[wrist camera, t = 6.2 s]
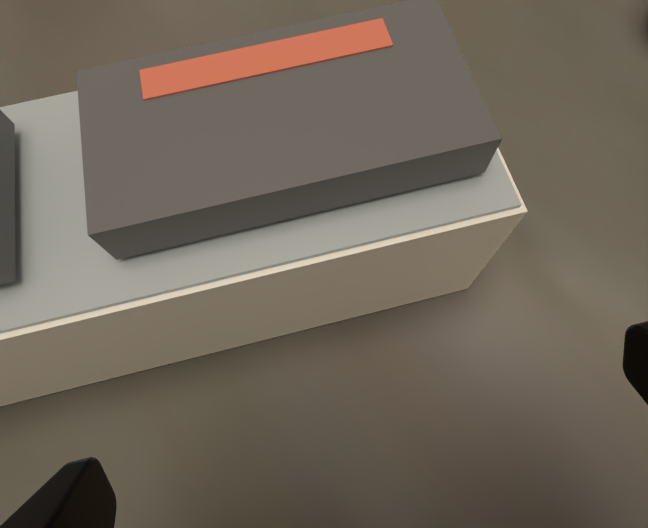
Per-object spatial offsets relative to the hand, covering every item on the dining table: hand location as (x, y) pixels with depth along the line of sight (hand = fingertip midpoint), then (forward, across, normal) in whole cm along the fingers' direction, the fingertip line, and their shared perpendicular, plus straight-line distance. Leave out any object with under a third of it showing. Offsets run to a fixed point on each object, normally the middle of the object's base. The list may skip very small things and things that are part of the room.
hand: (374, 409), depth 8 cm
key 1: (+10, 0, -3) cm, 11 cm away
